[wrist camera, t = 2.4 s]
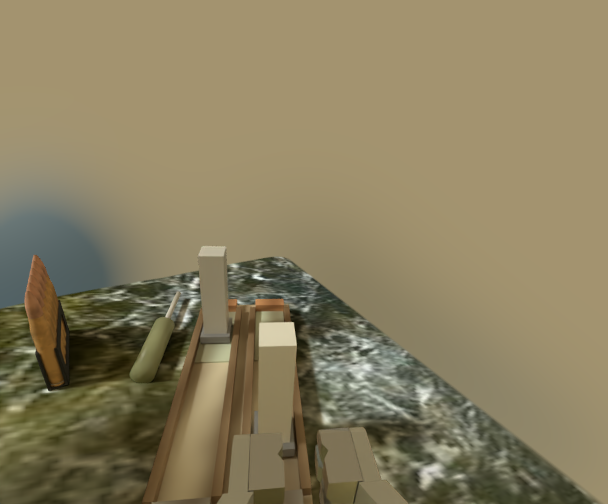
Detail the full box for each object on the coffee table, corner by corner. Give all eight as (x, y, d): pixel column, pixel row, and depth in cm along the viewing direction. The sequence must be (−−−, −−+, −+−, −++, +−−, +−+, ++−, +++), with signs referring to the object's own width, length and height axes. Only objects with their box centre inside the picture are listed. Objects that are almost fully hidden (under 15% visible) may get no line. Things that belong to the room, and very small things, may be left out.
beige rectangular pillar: (253, 459, 28) (253, 352, 23) (254, 418, 31) (254, 318, 26) (294, 455, 28) (303, 351, 23) (290, 416, 32) (297, 317, 27)
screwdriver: (155, 384, 36) (153, 366, 35) (130, 383, 36) (128, 366, 35) (187, 300, 52) (186, 286, 51) (170, 299, 51) (169, 286, 50)
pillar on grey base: (200, 343, 40) (193, 258, 35) (205, 323, 44) (199, 244, 39) (229, 342, 41) (226, 258, 36) (232, 323, 44) (229, 244, 39)
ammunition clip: (69, 385, 35) (39, 293, 30) (48, 392, 34) (13, 298, 29) (69, 330, 43) (45, 250, 38) (52, 334, 42) (25, 253, 37)
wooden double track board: (135, 551, 23) (129, 533, 22) (203, 311, 49) (202, 298, 48) (314, 533, 25) (316, 514, 23) (288, 310, 51) (288, 297, 50)
